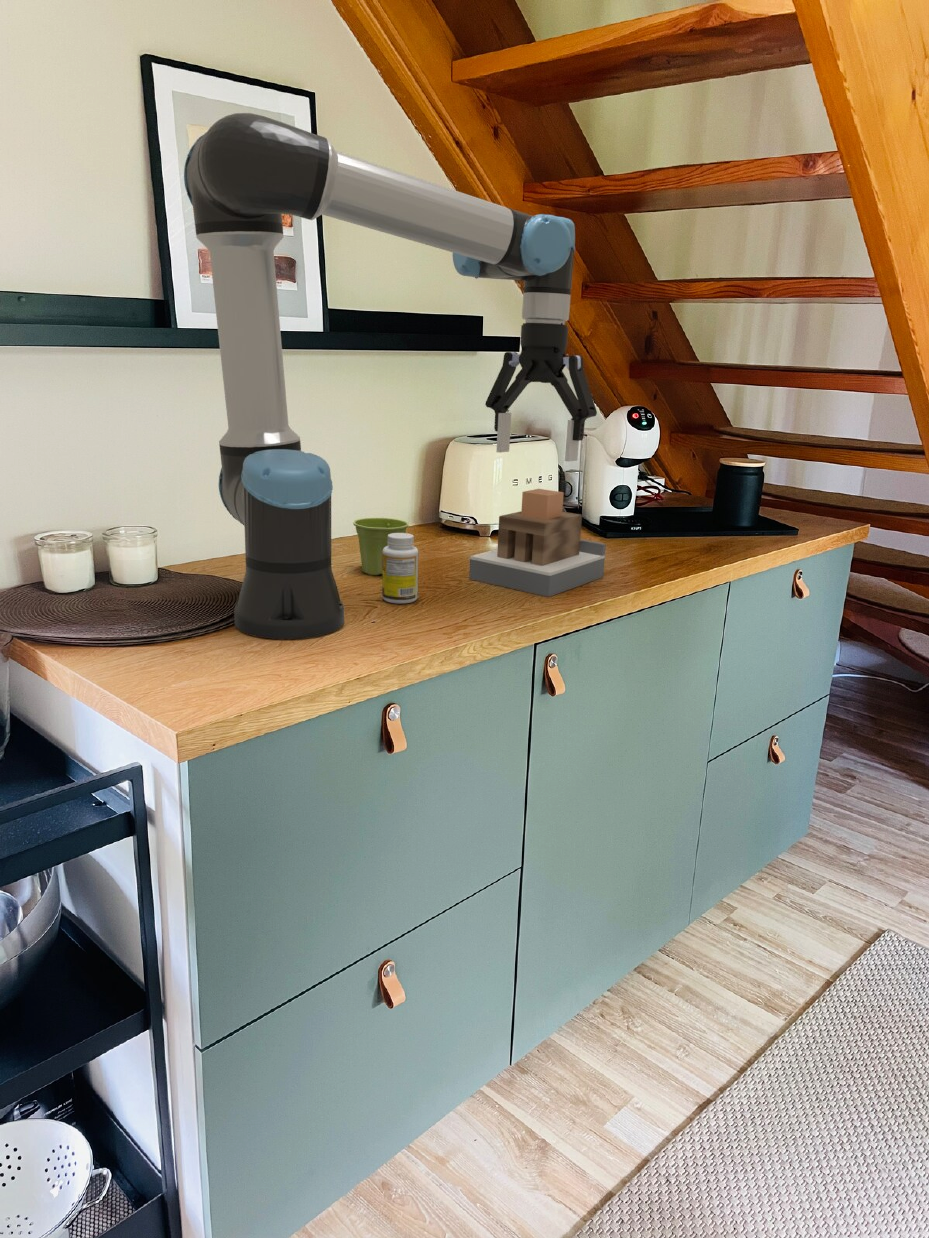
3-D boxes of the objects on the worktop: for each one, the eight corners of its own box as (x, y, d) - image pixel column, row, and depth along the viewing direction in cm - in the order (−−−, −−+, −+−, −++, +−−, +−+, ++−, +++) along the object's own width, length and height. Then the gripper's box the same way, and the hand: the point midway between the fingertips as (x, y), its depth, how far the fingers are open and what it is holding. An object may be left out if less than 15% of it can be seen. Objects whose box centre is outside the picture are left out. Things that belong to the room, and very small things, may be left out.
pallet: (541, 566, 150) (544, 524, 148) (497, 556, 155) (499, 516, 153) (578, 554, 159) (582, 514, 157) (535, 546, 164) (537, 507, 162)
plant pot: (374, 562, 165) (374, 515, 162) (417, 570, 160) (419, 522, 158) (342, 572, 157) (342, 522, 154) (386, 581, 152) (387, 530, 150)
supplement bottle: (392, 593, 146) (393, 530, 143) (423, 598, 144) (425, 534, 141) (375, 601, 141) (375, 536, 138) (407, 606, 139) (408, 540, 136)
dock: (548, 597, 147) (551, 560, 145) (469, 579, 156) (470, 544, 154) (603, 577, 161) (605, 543, 159) (527, 561, 170) (529, 530, 168)
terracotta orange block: (546, 519, 152) (547, 495, 150) (521, 515, 154) (522, 491, 153) (561, 515, 156) (563, 492, 154) (537, 511, 158) (538, 488, 157)
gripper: (625, 325, 142) (613, 463, 148) (495, 321, 156) (488, 447, 162) (601, 323, 136) (589, 466, 142) (469, 319, 151) (463, 449, 157)
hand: (536, 456), depth 152 cm, fingers open, 13 cm apart
